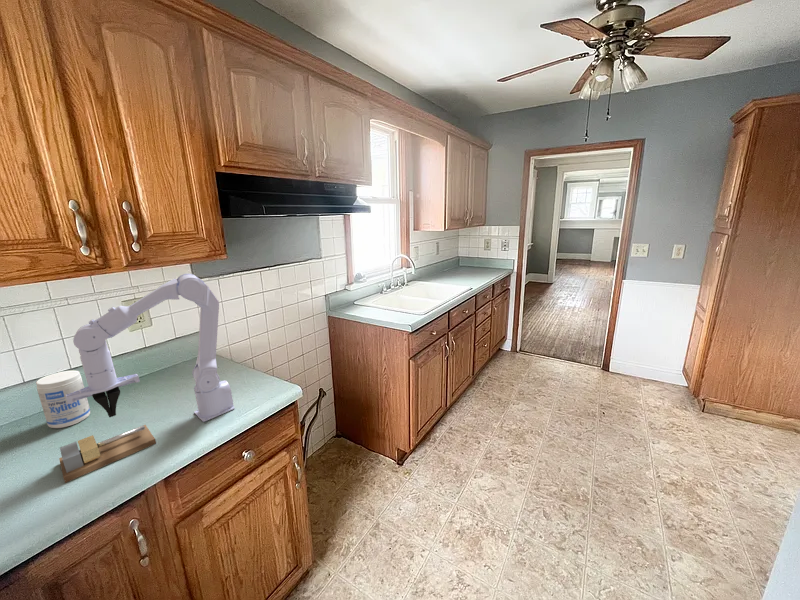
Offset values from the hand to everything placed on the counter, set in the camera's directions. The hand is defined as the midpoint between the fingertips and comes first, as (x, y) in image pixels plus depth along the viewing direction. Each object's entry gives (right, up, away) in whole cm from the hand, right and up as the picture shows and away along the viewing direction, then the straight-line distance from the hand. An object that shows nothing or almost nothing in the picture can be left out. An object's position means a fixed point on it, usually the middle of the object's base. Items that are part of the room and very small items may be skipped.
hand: (112, 415), depth 90 cm
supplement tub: (-24, -6, +13) cm, 28 cm away
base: (+1, -9, -2) cm, 10 cm away
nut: (-1, -8, -5) cm, 10 cm away
